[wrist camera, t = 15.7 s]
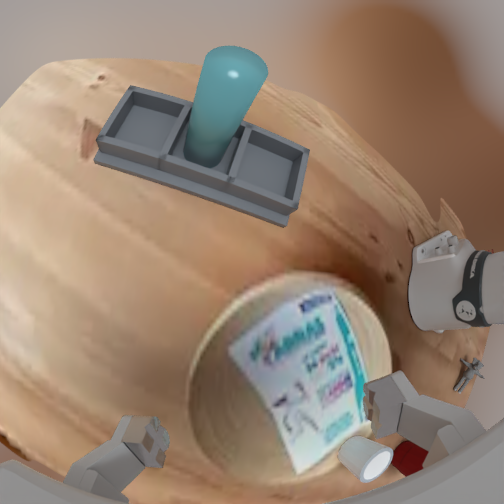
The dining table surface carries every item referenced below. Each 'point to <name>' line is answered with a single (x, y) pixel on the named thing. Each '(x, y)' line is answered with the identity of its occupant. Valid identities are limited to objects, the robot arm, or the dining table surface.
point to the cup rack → (196, 176)
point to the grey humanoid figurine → (469, 373)
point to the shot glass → (365, 458)
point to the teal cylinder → (222, 102)
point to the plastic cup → (409, 458)
